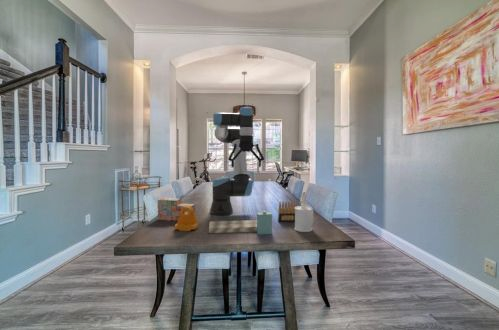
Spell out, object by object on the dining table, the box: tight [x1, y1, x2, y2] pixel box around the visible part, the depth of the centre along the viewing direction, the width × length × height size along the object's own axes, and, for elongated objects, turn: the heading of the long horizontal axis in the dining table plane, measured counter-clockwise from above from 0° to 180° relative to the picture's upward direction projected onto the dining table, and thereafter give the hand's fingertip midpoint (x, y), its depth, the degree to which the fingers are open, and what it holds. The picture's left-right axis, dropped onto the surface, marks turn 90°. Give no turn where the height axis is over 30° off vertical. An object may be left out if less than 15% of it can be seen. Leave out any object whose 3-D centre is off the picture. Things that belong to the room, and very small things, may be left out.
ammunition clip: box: [277, 201, 297, 223], centre depth 149 cm, size 11×2×12 cm, turn 94°
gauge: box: [256, 210, 273, 235], centre depth 135 cm, size 7×14×11 cm, turn 6°
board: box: [208, 219, 257, 234], centre depth 137 cm, size 32×12×2 cm, turn 96°
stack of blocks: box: [157, 197, 196, 222], centre depth 154 cm, size 21×6×12 cm, turn 77°
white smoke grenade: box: [293, 191, 314, 233], centre depth 134 cm, size 10×9×20 cm
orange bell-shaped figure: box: [174, 205, 199, 232], centre depth 136 cm, size 11×7×12 cm, turn 90°
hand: (246, 172), depth 146 cm, fingers open, 13 cm apart
